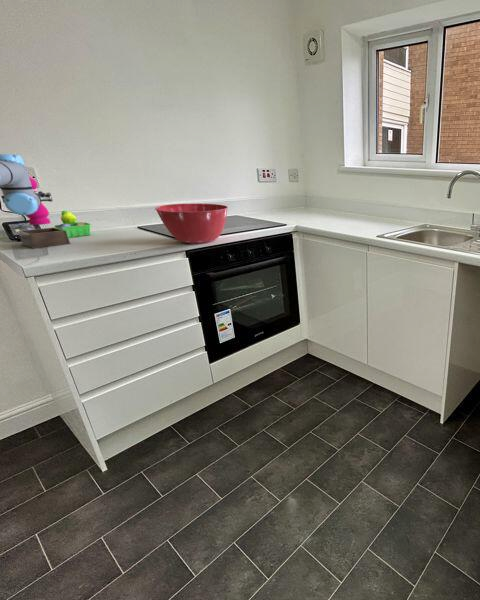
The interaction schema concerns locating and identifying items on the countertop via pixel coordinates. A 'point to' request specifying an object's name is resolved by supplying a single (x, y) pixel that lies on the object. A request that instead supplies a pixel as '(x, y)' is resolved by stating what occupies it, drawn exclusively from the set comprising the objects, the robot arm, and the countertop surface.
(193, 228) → the mixing bowl
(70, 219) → the fruit basket
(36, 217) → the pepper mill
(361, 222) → the countertop surface
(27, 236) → the holder
